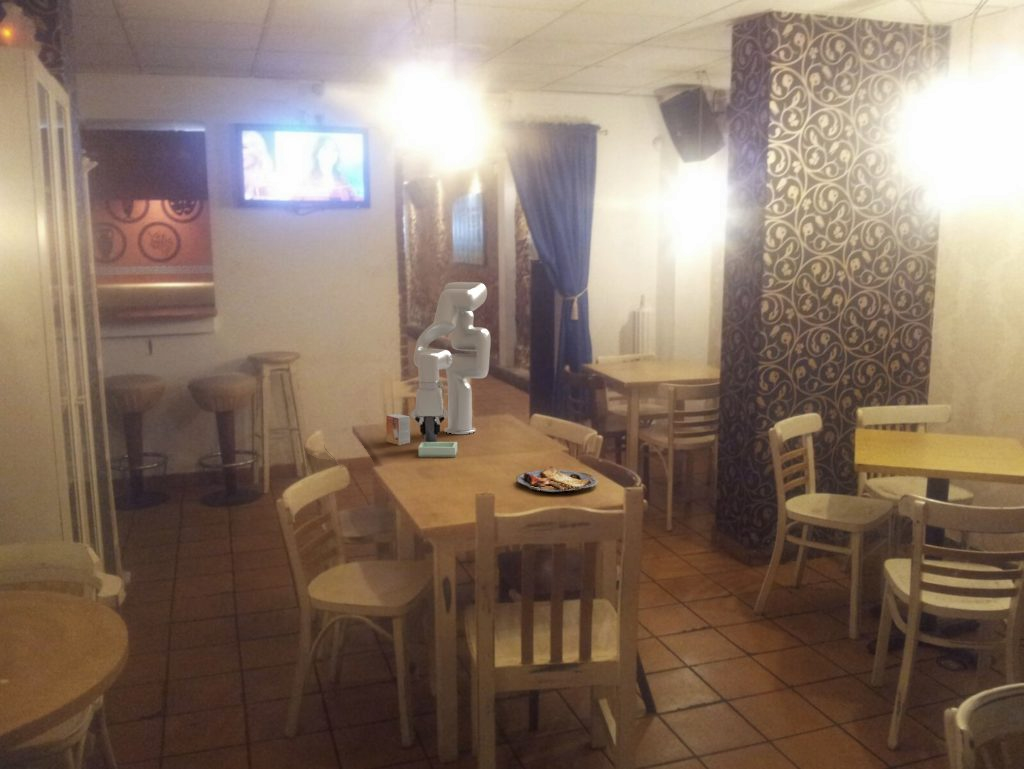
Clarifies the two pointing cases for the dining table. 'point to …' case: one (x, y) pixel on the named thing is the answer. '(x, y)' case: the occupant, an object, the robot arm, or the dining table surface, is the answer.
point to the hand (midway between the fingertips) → (430, 433)
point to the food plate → (556, 479)
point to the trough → (437, 449)
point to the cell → (430, 429)
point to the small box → (398, 429)
